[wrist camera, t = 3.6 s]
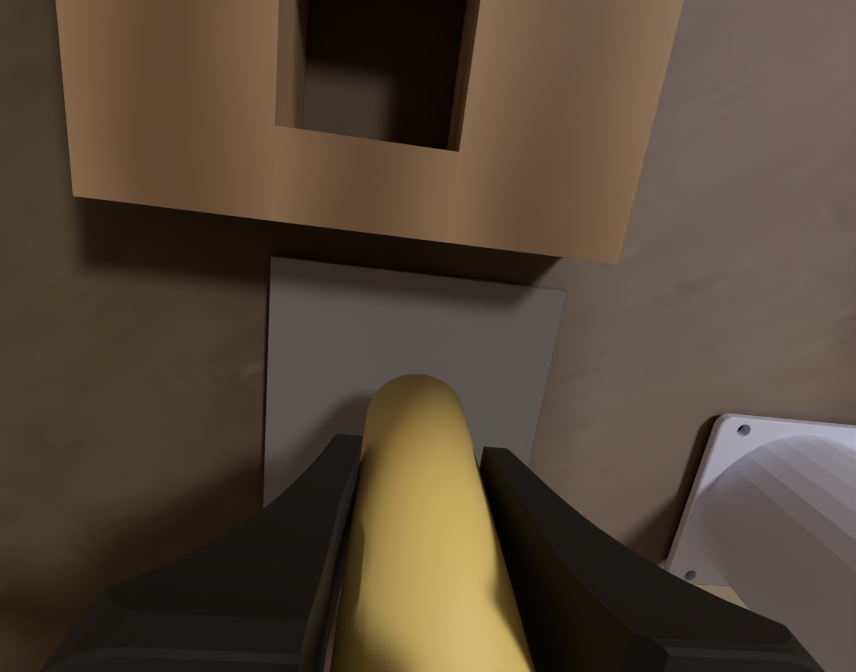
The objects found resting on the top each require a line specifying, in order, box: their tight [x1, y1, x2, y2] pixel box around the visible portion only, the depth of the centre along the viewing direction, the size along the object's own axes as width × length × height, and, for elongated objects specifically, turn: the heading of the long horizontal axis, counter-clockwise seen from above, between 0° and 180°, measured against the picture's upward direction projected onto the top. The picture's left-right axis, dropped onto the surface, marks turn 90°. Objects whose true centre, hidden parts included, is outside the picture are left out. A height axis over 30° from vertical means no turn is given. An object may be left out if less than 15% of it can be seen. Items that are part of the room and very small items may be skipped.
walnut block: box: [56, 0, 684, 264], centre depth 13 cm, size 14×9×4 cm, turn 83°
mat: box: [263, 255, 567, 509], centre depth 18 cm, size 10×10×1 cm
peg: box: [330, 374, 535, 672], centre depth 11 cm, size 3×3×9 cm
